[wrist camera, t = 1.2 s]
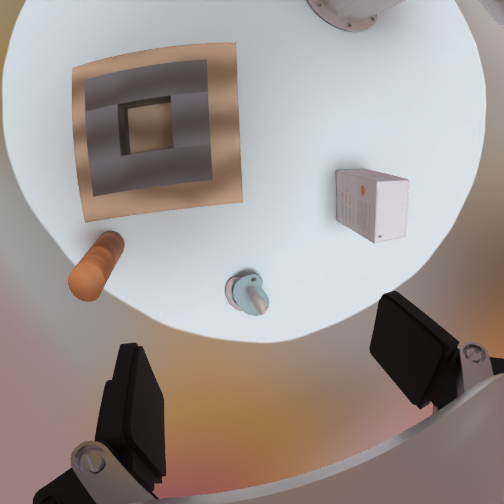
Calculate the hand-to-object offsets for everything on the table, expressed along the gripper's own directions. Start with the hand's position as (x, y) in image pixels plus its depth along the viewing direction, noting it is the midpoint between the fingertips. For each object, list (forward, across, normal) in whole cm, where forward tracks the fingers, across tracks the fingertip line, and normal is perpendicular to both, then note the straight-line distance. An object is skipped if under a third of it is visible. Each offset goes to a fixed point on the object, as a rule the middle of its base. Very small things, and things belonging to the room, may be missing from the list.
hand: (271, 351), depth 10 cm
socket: (+29, +6, -11) cm, 32 cm away
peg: (+30, +15, +4) cm, 33 cm away
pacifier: (+30, -4, +14) cm, 34 cm away
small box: (+29, -21, +1) cm, 36 cm away
